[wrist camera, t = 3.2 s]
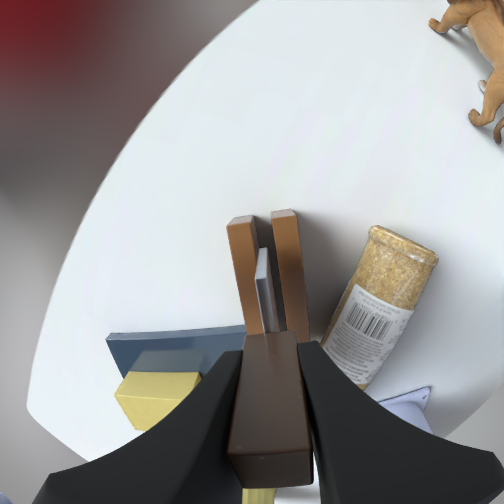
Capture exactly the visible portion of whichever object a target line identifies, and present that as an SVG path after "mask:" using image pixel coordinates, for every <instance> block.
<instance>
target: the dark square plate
mask: <svg viewBox="0 0 504 504" xmlns="http://www.w3.org/2000/svg"><path fill="white" fill-rule="evenodd" d="M246 335H247V330H246V326H245V325H238V326H228V327H218V328H207V329H194V330H180V331H164V332H141V333H111V334H110V335H109V336H108V337H107V338H106V339H105V340H106V342H107V344H108V347H109V349H110V351H111V354H112V356H113V358H114V360H115V362H116V364H117V367H118V369H119V371H120V373H121V375H122V377H123V379H124V378H125V377H126V375H127V374H128V372H129V371H133V372H199V374H200V377H201V379H202V378H203V377H204V376H205V375H206V373H207V372H208V371H209V370H210V369H211V367H212V366H213V365H214V364H215V362H216V361H217V360H218V359H219V357H220V356H221V355H222V354H223V353H224V351H236V350H242V347H243V341H244V337H245V336H246Z"/></svg>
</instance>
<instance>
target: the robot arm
mask: <svg viewBox="0 0 504 504" xmlns="http://www.w3.org/2000/svg"><path fill="white" fill-rule="evenodd" d="M297 346H298V353H299V359H300V364H301V368H302V372H303V378H304V385H305V391H306V398H307V405H308V412H309V420H310V427H311V435H312V442H313V452H314V456H315V460H316V465H317V471H318V477H319V486H320V497H321V504H489V503H490V502H491V501H492V500H493V499H494V498H496V497H497V496H498V495H499V494H500V493H501V492H502V491H503V490H504V468H503V466H502V464H501V463H500V461H499V460H498V459H497V457H496V456H495V454H494V453H493V452H490V451H485V450H480V449H476V448H472V447H468V446H463V445H460V444H456V443H453V442H451V441H448V440H445V439H443V438H440V437H437V436H435V435H434V434H433V432H432V430H431V428H430V426H429V425H428V423H427V421H426V419H425V417H424V415H423V412H424V409H425V406H426V403H427V400H428V397H429V394H430V389H429V388H428V387H426V388H423V389H420V390H417V391H415V392H412V393H409V394H406V395H402V396H399V397H396V398H393V399H389V400H386V401H382V402H379V403H377V402H376V401H375V400H374V399H372V398H371V397H370V396H369V395H367V394H366V393H365V392H364V391H363V390H362V389H360V388H359V387H358V386H357V385H356V384H355V383H354V382H353V381H352V380H351V379H350V378H349V377H348V376H347V375H346V374H345V373H344V372H343V371H342V370H341V369H340V368H339V367H338V366H337V365H336V364H335V363H334V362H333V360H332V359H331V358H330V357H329V356H328V354H327V353H326V352H325V350H324V349H323V348H322V346H321V345H320V343H319V342H317V341H310V342H303V343H297ZM242 351H243V350H236V351H224V353H223V354H222V355H221V356H220V357H219V359H218V360H217V361H216V362H215V364H214V365H213V366H212V367H211V369H210V370H209V371H208V372H207V373H206V375H205V376H204V377H203V378H202V379H201V381H200V382H199V383H198V384H197V385H196V386H195V388H194V389H193V390H192V391H191V392H190V393H189V394H188V395H187V396H186V397H185V398H184V399H183V400H182V401H181V402H180V403H179V404H178V405H177V406H176V407H175V408H174V409H173V410H172V411H171V412H170V413H169V414H168V415H166V416H165V417H164V418H163V419H162V420H160V421H159V422H158V423H157V424H155V425H154V426H153V427H151V428H150V429H149V430H147V431H146V432H145V433H143V434H141V435H140V436H138V437H137V438H135V439H133V440H132V441H130V442H129V443H127V444H125V445H124V446H122V447H120V448H119V449H117V450H115V451H113V452H111V453H109V454H107V455H105V456H102V457H100V458H98V459H95V460H93V461H91V462H88V463H85V464H83V465H80V466H77V467H73V468H70V469H67V470H63V471H59V472H56V473H51V474H50V475H49V476H48V478H47V479H46V481H45V483H44V484H43V486H42V487H41V489H40V491H39V493H38V494H37V496H36V498H35V499H34V501H33V503H32V504H242V495H243V488H242V486H241V484H240V482H239V480H238V478H237V476H236V474H235V472H234V470H233V468H232V466H231V464H230V462H229V460H228V458H227V456H226V454H225V452H226V446H227V440H228V434H229V428H230V422H231V416H232V410H233V404H234V397H235V391H236V385H237V379H238V374H239V370H240V364H241V358H242ZM0 504H15V503H13V502H12V501H11V500H10V499H9V498H7V497H6V496H5V495H4V494H3V493H2V492H0Z"/></svg>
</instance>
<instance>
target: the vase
mask: <svg viewBox="0 0 504 504" xmlns="http://www.w3.org/2000/svg"><path fill="white" fill-rule="evenodd" d="M275 492H276V488H268V489H244V488H243V495H242V504H274V495H275Z"/></svg>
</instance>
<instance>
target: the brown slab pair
mask: <svg viewBox="0 0 504 504" xmlns="http://www.w3.org/2000/svg"><path fill="white" fill-rule="evenodd" d="M271 220H272V226H273V233H274V239H275V246H276V252H277V259H278V266H279V273H280V280H281V287H282V294H283V301H284V309H285V316H286V324H287V330H295V331H296V334H297V340H298V343H303V342H310V331H309V319H308V309H307V299H306V289H305V280H304V271H303V262H302V254H301V246H300V238H299V231H298V223H297V216H296V214H295V213H294V212H293V211H292V210H291V209H286V210H279V211H273V212H271ZM226 229H227V234H228V239H229V245H230V250H231V255H232V260H233V265H234V271H235V276H236V281H237V286H238V291H239V296H240V301H241V306H242V311H243V316H244V321H245V326H246V330H247V335H255V334H264V330H263V324H262V319H261V313H260V307H259V301H258V296H257V290H256V284H255V274H256V266H257V259H258V252H259V245H258V239H257V233H256V227H255V221H254V216H253V215H248V216H241V217H235V218H233V219H232V221H231V222H230V223H229V224H228V225H227V226H226Z"/></svg>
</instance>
